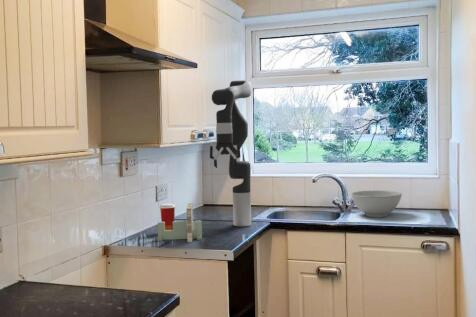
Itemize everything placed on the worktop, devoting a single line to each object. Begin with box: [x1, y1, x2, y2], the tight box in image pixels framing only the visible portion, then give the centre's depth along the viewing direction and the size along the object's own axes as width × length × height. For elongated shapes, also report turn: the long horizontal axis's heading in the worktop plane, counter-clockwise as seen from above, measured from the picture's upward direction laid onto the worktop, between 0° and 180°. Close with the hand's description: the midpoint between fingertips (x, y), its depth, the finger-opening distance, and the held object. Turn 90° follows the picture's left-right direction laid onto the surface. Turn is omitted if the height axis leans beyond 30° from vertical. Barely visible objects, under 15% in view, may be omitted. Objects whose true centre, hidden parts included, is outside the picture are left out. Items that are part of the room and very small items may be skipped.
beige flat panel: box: [186, 203, 194, 243], centre depth 239 cm, size 16×2×15 cm, turn 2°
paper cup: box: [159, 202, 176, 230], centre depth 254 cm, size 8×8×14 cm
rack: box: [156, 220, 203, 242], centre depth 240 cm, size 8×20×8 cm, turn 92°
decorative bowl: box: [351, 190, 403, 218], centre depth 286 cm, size 27×27×12 cm
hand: (225, 167), depth 242 cm, fingers open, 8 cm apart
